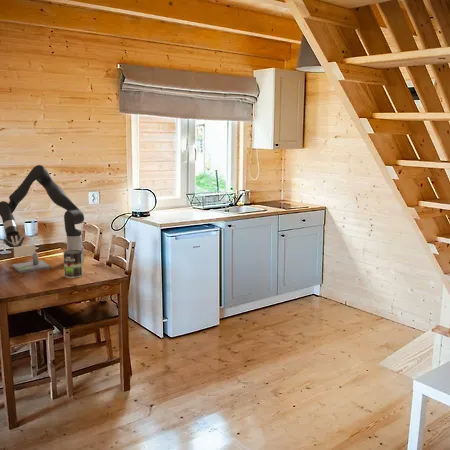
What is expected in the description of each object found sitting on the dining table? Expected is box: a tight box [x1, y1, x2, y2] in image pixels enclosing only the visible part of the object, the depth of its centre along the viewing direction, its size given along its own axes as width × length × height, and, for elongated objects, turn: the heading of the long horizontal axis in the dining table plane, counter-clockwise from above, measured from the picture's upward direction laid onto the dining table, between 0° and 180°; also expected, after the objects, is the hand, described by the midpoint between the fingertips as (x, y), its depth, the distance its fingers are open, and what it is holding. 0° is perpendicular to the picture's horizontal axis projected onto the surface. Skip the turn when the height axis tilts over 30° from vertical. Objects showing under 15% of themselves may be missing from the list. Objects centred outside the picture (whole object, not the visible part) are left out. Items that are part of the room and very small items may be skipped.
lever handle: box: [13, 244, 39, 264], centre depth 310 cm, size 14×3×12 cm, turn 125°
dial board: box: [11, 259, 52, 274], centre depth 311 cm, size 18×18×2 cm
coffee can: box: [63, 250, 84, 279], centre depth 292 cm, size 10×10×14 cm
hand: (17, 251), depth 312 cm, fingers closed
